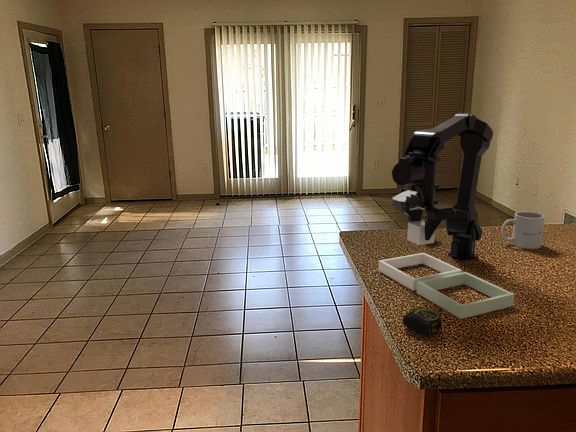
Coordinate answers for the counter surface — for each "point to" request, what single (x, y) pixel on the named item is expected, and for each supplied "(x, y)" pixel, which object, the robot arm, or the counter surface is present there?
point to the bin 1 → (392, 264)
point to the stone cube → (418, 233)
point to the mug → (526, 230)
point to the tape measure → (423, 321)
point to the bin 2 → (497, 302)
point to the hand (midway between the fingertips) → (420, 237)
